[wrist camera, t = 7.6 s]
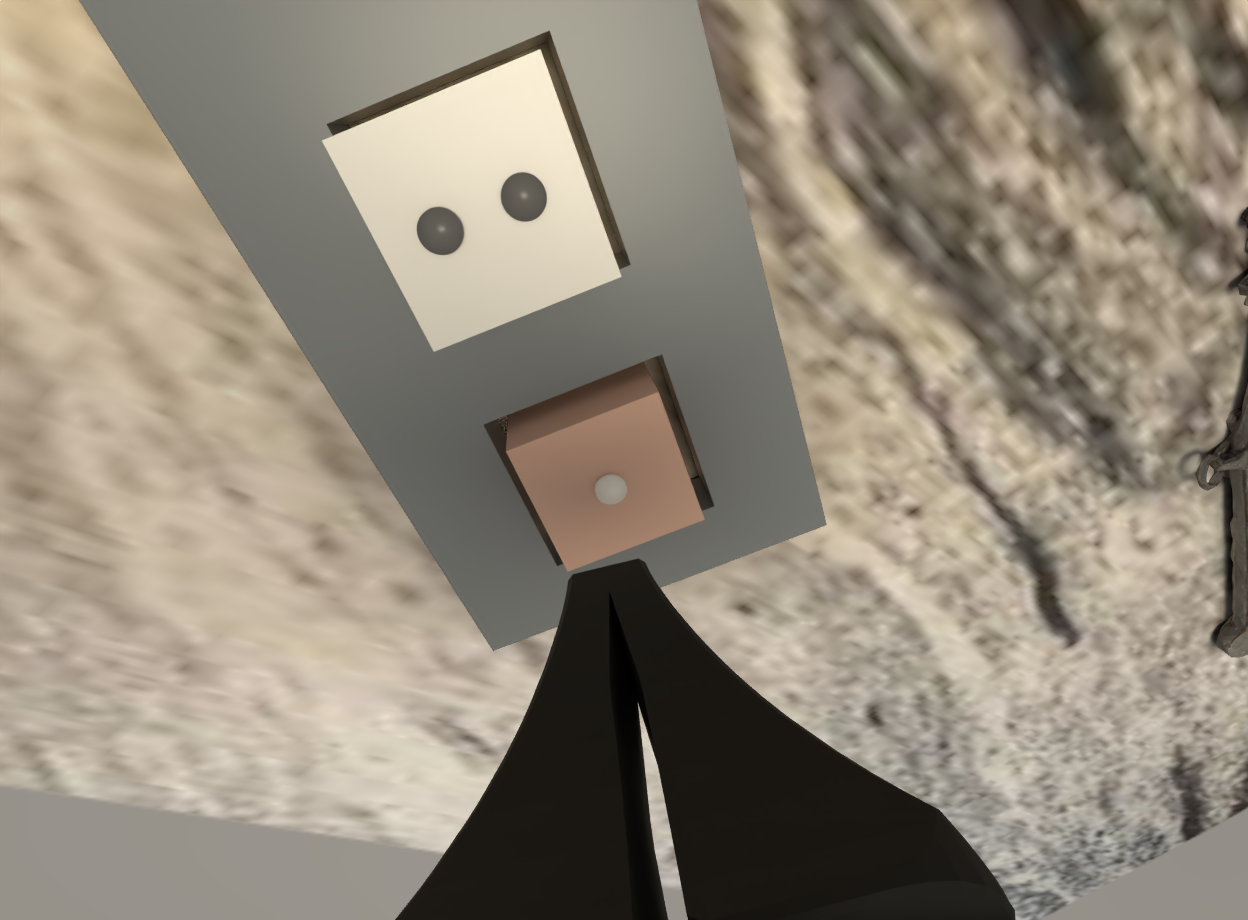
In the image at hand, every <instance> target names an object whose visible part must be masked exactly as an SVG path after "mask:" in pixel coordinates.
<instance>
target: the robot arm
mask: <svg viewBox="0 0 1248 920" xmlns="http://www.w3.org/2000/svg"><path fill="white" fill-rule="evenodd" d="M638 704H639V707H640V710H641V713H642V717H643V720H644V723H645V726H646V729H647V733H648V736H649V739H650V742H651V745H652V749H653V752H654V755H655V758H656V761H657V765H658V768H659V773H660V778H661V783H662V788H663V793H664V798H665V803H666V808H667V814H668V819H669V824H670V829H671V834H672V839H673V844H674V850H675V855H676V860H677V865H678V870H679V876H680V881H681V886H682V891H683V897H684V902H685V907H686V913H687V917H688V920H1015V910H1014V908H1013V907H1012V905H1011V904H1010V902H1009V901H1008V899H1007V897H1006V895H1005V893H1004V891H1003V889H1002V888H1001V886H1000V885H999V883H998V882H997V880H996V878H995V877H994V876H993V874H992V873H991V872H990V870H989V869H988V868H987V866H986V865H985V864H984V862H983V861H982V860H981V859H980V857H979V856H978V855H977V854H976V852H975V851H974V850H973V849H972V847H971V846H970V845H969V843H968V842H967V841H966V840H965V838H964V837H963V836H962V835H961V834H960V833H959V832H958V830H957V829H956V828H955V827H954V826H953V825H952V823H951V822H950V821H949V820H948V819H947V818H946V817H945V816H944V815H943V813H942V812H941V811H940V810H939V809H937V808H935V807H933V806H931V805H929V804H927V803H925V802H923V801H922V800H920V799H918V798H916V797H914V796H912V795H910V794H908V793H907V792H905V791H903V790H901V789H899V788H898V787H896V786H894V785H892V784H891V783H889V782H887V781H885V780H884V779H882V778H880V777H878V776H877V775H875V774H873V773H871V772H870V771H868V770H867V769H865V768H863V767H862V766H860V765H858V764H857V763H855V762H854V761H852V760H850V759H849V758H847V757H846V756H844V755H842V754H841V753H839V752H838V751H836V750H835V749H833V748H832V747H830V746H829V745H827V744H826V743H825V742H823V741H822V740H820V739H819V738H817V737H816V736H815V735H813V734H812V733H810V732H809V731H807V730H806V729H805V728H803V727H802V726H800V725H799V724H797V723H796V722H795V721H793V720H792V719H790V718H789V717H787V716H786V715H785V714H784V713H782V712H781V711H780V710H779V709H777V708H776V707H775V706H774V705H772V704H771V703H770V702H768V701H767V700H766V699H765V698H763V697H762V696H761V695H760V694H759V693H758V692H756V691H755V690H754V689H753V688H752V687H751V686H749V685H748V684H747V683H746V682H745V681H744V680H742V679H741V678H740V677H739V676H738V675H737V674H736V673H735V672H734V671H733V670H732V669H731V668H729V667H728V666H727V665H726V664H725V663H724V662H723V661H722V660H721V659H720V658H719V657H718V656H717V655H716V654H715V653H714V652H713V651H712V650H711V649H710V648H709V647H708V646H707V645H706V644H705V642H704V641H703V640H702V639H701V638H700V637H699V636H698V635H697V634H696V633H695V632H694V630H693V629H692V628H691V627H690V626H689V624H688V623H687V622H686V621H685V620H684V619H683V617H682V616H681V615H680V614H679V613H678V612H677V610H676V609H675V608H674V606H673V605H672V604H671V603H670V601H669V600H668V599H667V597H666V596H665V594H664V593H663V592H662V590H661V589H660V587H659V586H658V584H657V583H656V581H655V580H654V578H653V576H652V575H651V573H650V571H649V569H648V567H647V565H646V562H644V561H642V560H641V559H639V558H638V559H634V560H629V561H625V562H621V563H617V564H613V565H609V566H605V567H601V568H596V569H592V570H588V571H584V572H580V573H576V574H572V576H571V577H570V579H569V580H568V584H567V591H566V596H565V601H564V606H563V610H562V614H561V618H560V621H559V625H558V629H557V632H556V635H555V638H554V641H553V644H552V647H551V650H550V653H549V656H548V659H547V662H546V665H545V668H544V671H543V673H542V676H541V678H540V680H539V683H538V685H537V688H536V690H535V693H534V695H533V698H532V700H531V703H530V705H529V708H528V710H527V712H526V714H525V716H524V719H523V721H522V723H521V725H520V727H519V729H518V731H517V733H516V735H515V737H514V739H513V741H512V743H511V745H510V747H509V749H508V751H507V753H506V755H505V757H504V759H503V761H502V763H501V764H500V766H499V768H498V770H497V771H496V773H495V775H494V777H493V778H492V780H491V782H490V784H489V785H488V787H487V789H486V791H485V792H484V794H483V796H482V797H481V799H480V801H479V802H478V804H477V806H476V807H475V809H474V810H473V812H472V814H471V815H470V817H469V818H468V820H467V821H466V823H465V824H464V826H463V827H462V829H461V830H460V832H459V833H458V835H457V836H456V838H455V839H454V840H453V842H452V843H451V845H450V846H449V848H448V849H447V851H446V852H445V854H444V855H443V857H442V858H441V860H440V861H439V862H438V864H437V866H436V867H435V868H434V870H433V871H432V873H431V874H430V875H429V877H428V878H427V879H426V881H425V882H424V884H423V885H422V886H421V888H420V889H419V890H418V891H417V893H416V894H415V895H414V897H413V898H412V899H411V900H410V902H409V903H408V905H407V906H406V907H405V908H404V909H403V910H402V912H401V913H400V914H399V916H398V917H397V918H396V919H395V920H668V917H667V912H666V907H665V901H664V896H663V891H662V886H661V881H660V876H659V870H658V865H657V860H656V855H655V850H654V843H653V836H652V829H651V822H650V813H649V804H648V794H647V785H646V776H645V766H644V757H643V747H642V738H641V729H640V719H639V710H638Z"/></svg>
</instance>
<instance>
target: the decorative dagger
mask: <svg viewBox="0 0 1248 920" xmlns="http://www.w3.org/2000/svg"><path fill="white" fill-rule="evenodd" d="M1241 218H1242V219H1243V220H1244V221H1246V222H1247V228H1248V207H1247V208H1246V210H1245V211H1244V213H1243V214H1242V216H1241ZM1246 251H1247V252H1248V240H1247V241H1246ZM1238 287H1239V294H1240V295H1246V299H1245V303H1244V305H1246V306H1248V275H1247V276H1246V277H1245V278H1244V279H1243V280H1242V281H1241V282H1240V283H1239V284H1238ZM1226 421H1227V426H1228V428H1229V429H1230V431H1231V434H1230V435H1229V437H1228V438H1227V439H1226V440H1225V441H1223V442H1222V443H1221V444H1220V445H1219V446H1218V448H1217V449H1216V450H1215V452H1214V454H1213V455H1205V456H1204V458H1203V460H1202V462H1201V464H1200V466H1199V468H1198V470H1197V472H1196V477H1197V480H1198V484H1199V486H1200V487H1201V488H1202V489H1204V490H1207V491H1208V490H1210V489H1212V488H1214V487H1215V486H1217V485H1218V484H1219V482H1220V481H1221V478H1222V476H1223V477H1228V478H1230V479H1231V485H1232V493H1233V518H1232V520H1231V522H1230V528H1231V534H1232V537H1233V543H1232V549H1231V554H1230V556H1231V558H1232V561H1233V572H1232V584H1233V601H1232V609H1233V616H1231V617H1229V619H1228V620H1227V622H1226V623H1225V624H1224V625H1223V626H1222V628H1221V629H1220V632H1219V635H1218V638H1217V641H1216V643H1217V645H1218V647H1219V648H1220V649H1221V650H1223V651H1224V652H1225V653H1227V654H1228V655H1229V656H1231V657H1242V656H1245V655H1248V383H1247V387H1246V392H1245V396H1244V401H1243V405H1242V408H1239V409H1237V410H1235V411H1233V412H1231V413H1230V414H1229V416H1228V418H1227V420H1226ZM1222 460H1224V461H1222ZM1209 465H1210V466H1211V467H1212V468H1213V469H1214V474H1213V476H1212V478H1211V479H1210V481H1209V483H1207V482H1206V475H1207V471H1208V466H1209Z"/></svg>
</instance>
